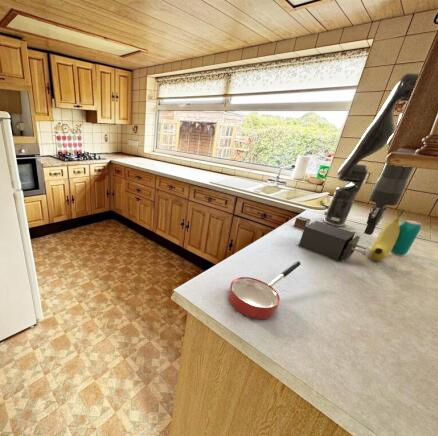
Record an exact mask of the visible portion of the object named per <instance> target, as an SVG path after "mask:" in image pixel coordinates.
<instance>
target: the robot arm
mask: <svg viewBox="0 0 438 436" xmlns="http://www.w3.org/2000/svg"><path fill="white" fill-rule="evenodd" d="M419 74H420V73H414V72H412V73H411V72H409V73H405V74H404V75H402V76H401V77H400V78H399V79H398V81H397V82H396V83H395V85H394V87H393V88H392V90H391V91H390V93H389V95H388V97H387V99H386V101H385V102H384V104H383V105H382V107H381V109H380V110H379V112H378V113H377V115H376V117H375V118H374V119H373V121H372V122H371V124H370V125H369V126H368V127H367V129H366V131H365V132H364V134H363V135H362V136H361V138H360V139H359V142H358V143H357V144H356V146H355V148H353V150H352V152H351V153H350V154H349V156H348V157H346V160H345V161H344V162H343V164H341V165H340V167H339V169H338V171H337V173H336V179H337V180H338V181H340V182H345V183H348V184H346V185H343V186H342V185H341V186H338V187H336V188H335V189H334V192H333V195H332V198H331V201H330V204H329V205H326V204H323V203H322V202H323V200H320V201H319V203H320V205H321V206H323V207H326V208H327V211H325V217H324V219H323V223H325V224H328V225H331V226H335V227H338V228H342V227H344V226H345V225H346V222H347V219H348V217H349V214H350V212H351V210H352V207H353V204H354V202H355V200H356V197H357V194H358V193H359V191H361V188H362V186H363V184H364V182H365V180H366V178H367V175H368V171H369V169H368V166H367V165H365V164H359V163H360V162H361V161H363V160H364V159H365V158H368V157H370V156H372V155H374V154H375V153H377V152H379V151H381V150H382V149H383V148H384V147H385V146H386V147H387V149H388V148H389V145H390V142H391V140H392V138H393V135H394V132H395V130H396V125H395V118H394V117H395V116H394V115H395V113H394V112H395V107H396V105H397V103H398V102H407V103H409V102H408V100H409V98H410V96H411V93H412V91H413V88H414V86H415V83H416V80H417V78H418V75H419ZM405 109H406V108H404V109H403V110H402V111H401V112H400V113H399V116H398V119H397V125H398V123H399V121H400V119H401V117H402V114H403V112H404V110H405ZM413 170H414V168H413V167H403V166H395V165H389V164H386V163H384V166H383V169H382V171H381V173H380V175H379V177H378V179H377V180H376V182H375V183H374V186H373V188H372V190H371V194H370V196H369V198H368V200H369V201H370V202H372V203H375V204H374V205H373V206H371V208H370V209H369V213H368V216H367V221H366V226H365V228H364V231H363V233H364V234H365V235H368V236H371V235H373V233H374V232H375V229H376V227H377V226H378V225H379V223H380V222H381V220H382V219H383V218H384V216H385V214H386V213H387V212H388V209H389V208H388V207H387V206H397V205H398V203H399V202H400V199H401V197H402V195H403V193H404V191H405V189H406V187H407V183H408V181H409V178H410V177H411V175H412V172H413Z"/></svg>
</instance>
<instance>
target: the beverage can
mask: <svg viewBox="0 0 438 436" xmlns="http://www.w3.org/2000/svg"><path fill="white" fill-rule="evenodd" d="M399 226H400V233H399V236H398V238H397V240H396V242H395V244H394V246H393V248H392V250H391V252H390V254H393V255H395V256H400V257H404V256H405V255H406V254H408V253H409V250H411V249H410V248H411V247H412V245H413V243H414V241H415V240H416V238H417V237H418V234H419V232H420V231H421V229H422V223H421V222H419V221H415V220H412V219H404V220H403V221H402V222H401V223H400V224H399Z"/></svg>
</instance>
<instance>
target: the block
mask: <svg viewBox="0 0 438 436" xmlns="http://www.w3.org/2000/svg"><path fill="white" fill-rule="evenodd" d="M310 222H311V218H307V217H304V216H298V217H296V218H295V221H294V224H293V227H294V228H297V229H299V230H301V231H304V228H305V226H307V225H309V224H310Z"/></svg>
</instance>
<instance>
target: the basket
mask: <svg viewBox="0 0 438 436" xmlns="http://www.w3.org/2000/svg"><path fill="white" fill-rule="evenodd" d="M350 239H351V238H350ZM350 239H348V240H347V241H346V243H345V245H344V247H343V250H342V252H341V254H342V253H343V252H344V251H345V252H344V254H343V256H342V257H341V258H340V261H343V262H345V261H347V260H348V259H349V258H350V257H351V256H352V255H353V254H354V252H358V253H361V255H363V256H367V255H368V254H369V251H370V250H371V247H368V246H367V247H365V246H362V245H359V244H358V243H359V241H360V239H361V236H358V235H356V236H354V238H353V239H352V240H351V241H350ZM349 241H350V242H349ZM357 248H360V249H363V250H360V249H357ZM341 254H340V255H341Z"/></svg>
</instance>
